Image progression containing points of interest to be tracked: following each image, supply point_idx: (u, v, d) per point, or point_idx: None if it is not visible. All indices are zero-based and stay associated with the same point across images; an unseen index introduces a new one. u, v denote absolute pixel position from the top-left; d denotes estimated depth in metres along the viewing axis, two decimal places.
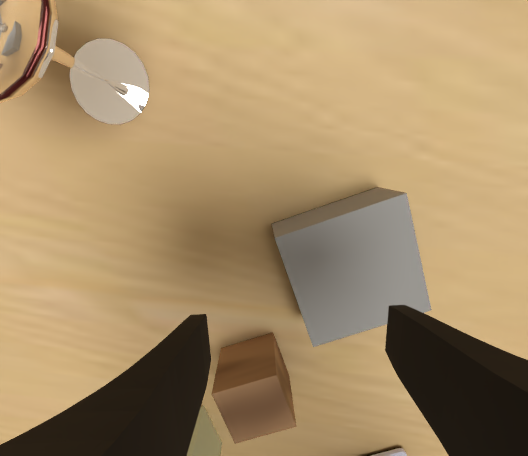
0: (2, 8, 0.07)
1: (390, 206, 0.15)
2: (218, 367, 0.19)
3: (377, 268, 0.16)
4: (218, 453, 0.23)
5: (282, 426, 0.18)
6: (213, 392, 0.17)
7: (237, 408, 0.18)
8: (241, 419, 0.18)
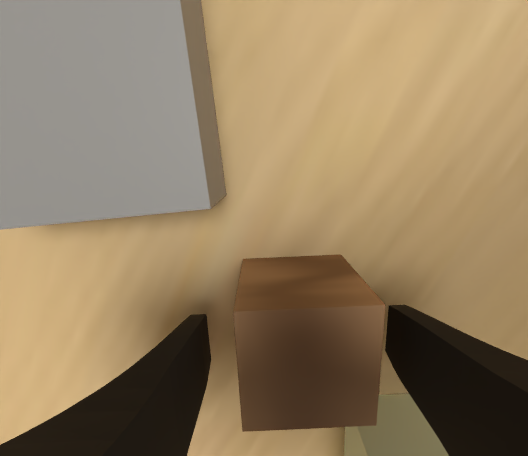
0: None
1: None
2: None
3: (18, 11, 0.06)
4: None
5: (373, 332, 0.08)
6: (242, 426, 0.09)
7: (293, 399, 0.08)
8: (320, 400, 0.09)
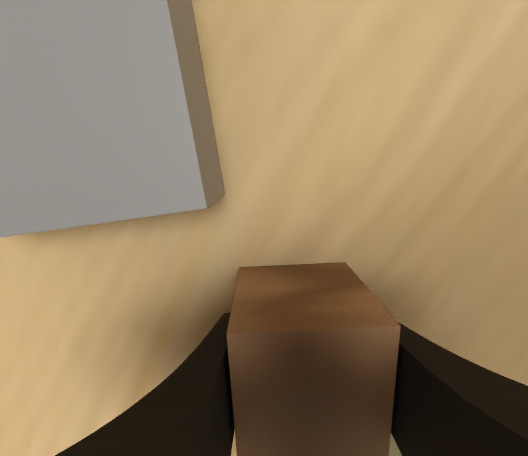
0: None
1: None
2: None
3: None
4: None
5: (385, 356, 0.07)
6: None
7: (295, 431, 0.07)
8: (326, 431, 0.08)
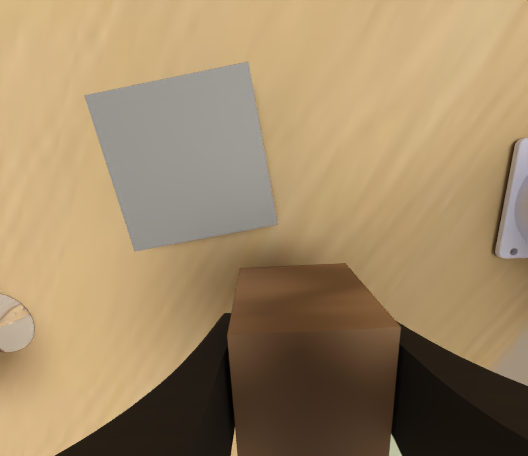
0: None
1: (100, 116, 0.13)
2: None
3: (180, 136, 0.13)
4: None
5: (386, 357, 0.07)
6: None
7: (295, 432, 0.08)
8: (326, 432, 0.08)
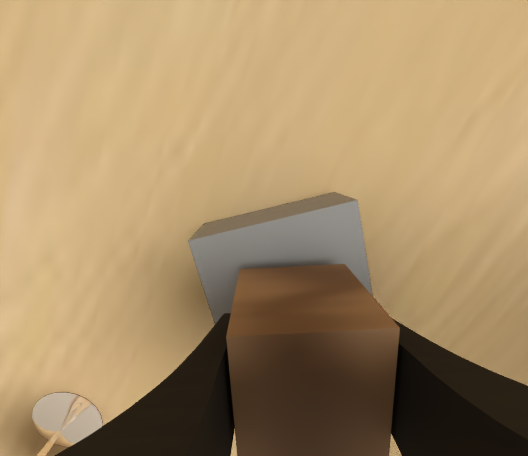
0: None
1: (203, 259, 0.12)
2: None
3: None
4: None
5: (385, 358, 0.07)
6: None
7: (295, 433, 0.08)
8: (326, 433, 0.08)
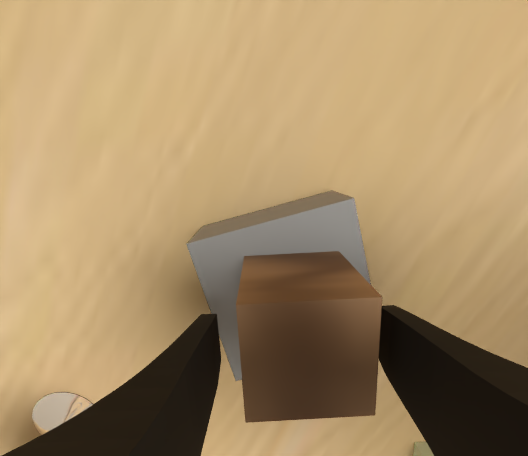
0: None
1: (202, 261, 0.12)
2: None
3: None
4: None
5: (370, 323, 0.08)
6: (245, 417, 0.09)
7: (294, 390, 0.09)
8: (321, 391, 0.09)
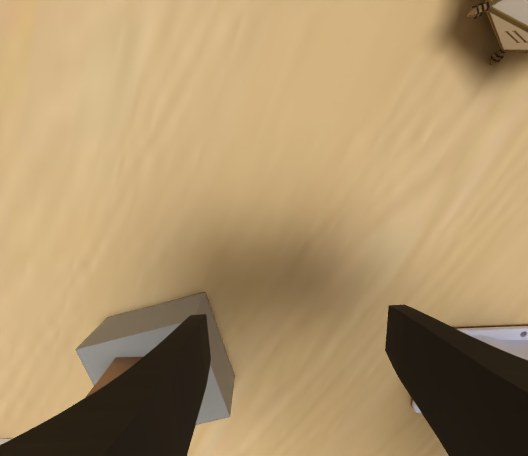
0: None
1: (88, 361, 0.17)
2: None
3: None
4: None
5: None
6: None
7: None
8: None
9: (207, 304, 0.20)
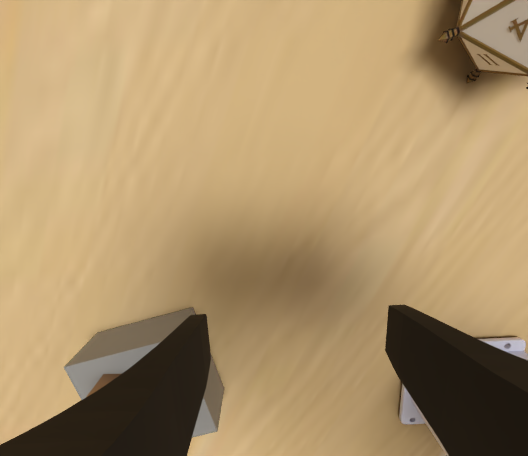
0: None
1: (77, 378, 0.17)
2: None
3: None
4: None
5: None
6: None
7: None
8: None
9: None
